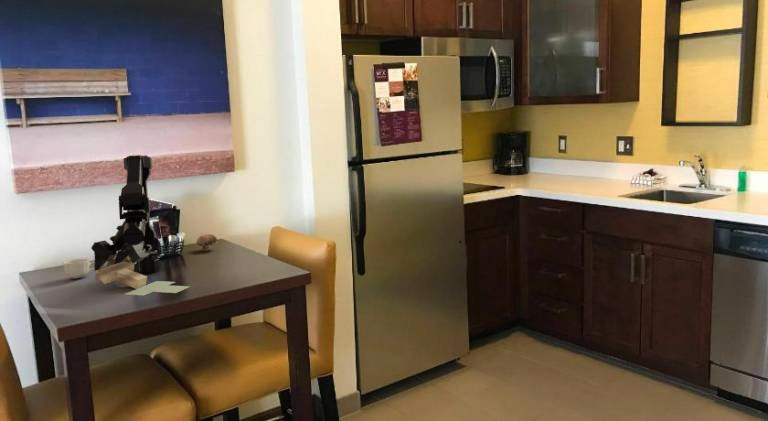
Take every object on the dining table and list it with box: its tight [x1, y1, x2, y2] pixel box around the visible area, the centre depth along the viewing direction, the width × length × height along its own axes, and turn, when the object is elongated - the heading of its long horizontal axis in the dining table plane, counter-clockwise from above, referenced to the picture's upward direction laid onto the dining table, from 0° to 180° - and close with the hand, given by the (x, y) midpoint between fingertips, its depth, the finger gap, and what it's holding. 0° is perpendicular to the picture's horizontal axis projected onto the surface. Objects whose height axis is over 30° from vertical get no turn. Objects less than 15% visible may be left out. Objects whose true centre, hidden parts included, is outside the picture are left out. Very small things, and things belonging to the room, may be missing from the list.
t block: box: [94, 261, 148, 290], centre depth 189 cm, size 12×12×3 cm
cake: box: [106, 254, 137, 267], centre depth 220 cm, size 10×10×5 cm
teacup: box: [62, 258, 95, 279], centre depth 205 cm, size 10×8×5 cm
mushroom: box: [196, 233, 218, 252], centre depth 240 cm, size 8×8×6 cm
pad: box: [124, 280, 191, 296], centre depth 186 cm, size 15×15×1 cm
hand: (106, 267), depth 191 cm, fingers open, 9 cm apart
